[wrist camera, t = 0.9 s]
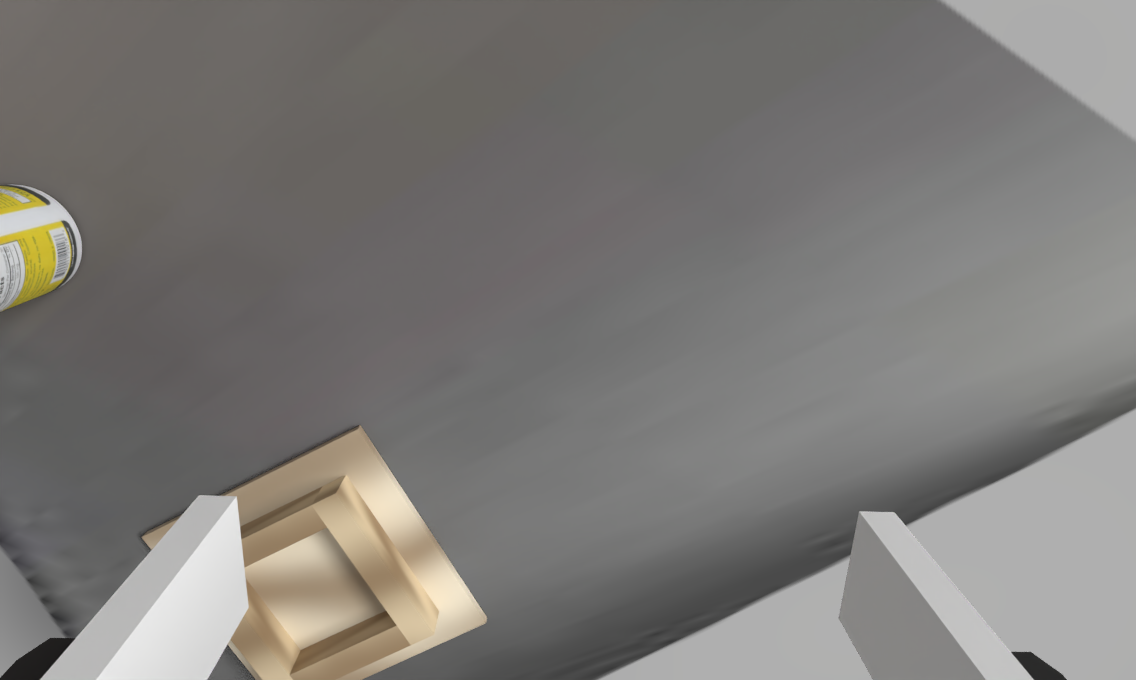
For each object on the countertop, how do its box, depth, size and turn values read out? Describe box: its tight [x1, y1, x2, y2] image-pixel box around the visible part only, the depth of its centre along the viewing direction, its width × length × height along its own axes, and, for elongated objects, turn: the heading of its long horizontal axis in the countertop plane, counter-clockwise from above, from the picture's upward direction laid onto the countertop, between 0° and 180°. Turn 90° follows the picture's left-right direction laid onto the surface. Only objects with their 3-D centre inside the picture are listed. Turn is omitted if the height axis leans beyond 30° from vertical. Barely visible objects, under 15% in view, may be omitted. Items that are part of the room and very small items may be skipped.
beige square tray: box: [142, 425, 487, 680], centre depth 41 cm, size 14×14×2 cm
